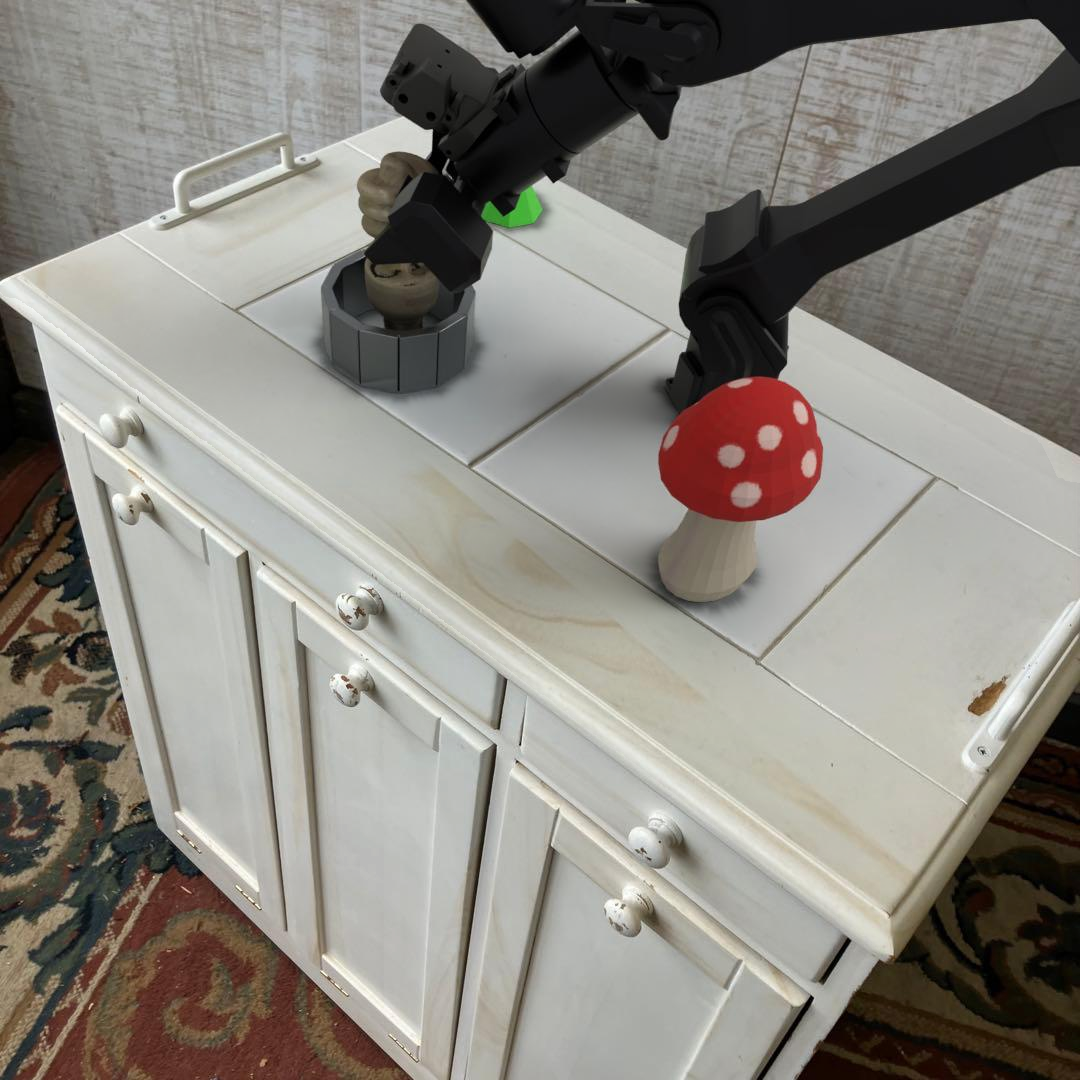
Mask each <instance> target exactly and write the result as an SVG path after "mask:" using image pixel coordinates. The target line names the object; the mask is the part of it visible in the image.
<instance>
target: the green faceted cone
mask: <svg viewBox="0 0 1080 1080" xmlns="http://www.w3.org/2000/svg"><path fill="white" fill-rule="evenodd" d="M542 212H543V208H542V206H541V203H540V201H539V199H538V196H537V194H536V192H535V189H534V186H533V185H532V186H531V187H529V188H528V189H526V190H525V191H523V192H522V193H521V195H520V197H519V200H518V203H517V206H516V208H515V210H513V211H512V212H510V213H509V214H507V215H506V216H504V217H503V216H502V215H501V214H500V212H499V211H498V210H497V209H496V208H495V207H494V205H493V204H492V203H491V202H488V203H486V205H485V208H484V210H483V213H482V215H481V217H482V218H483V219H484V221H485V222H489V223H492V224H496V225H499V226H502V227H505V228H515V227H520V226H526V225H532V224H534V223H535V222H536V220H537V219H538V218H539V216H540V215H541V213H542Z"/></svg>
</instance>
